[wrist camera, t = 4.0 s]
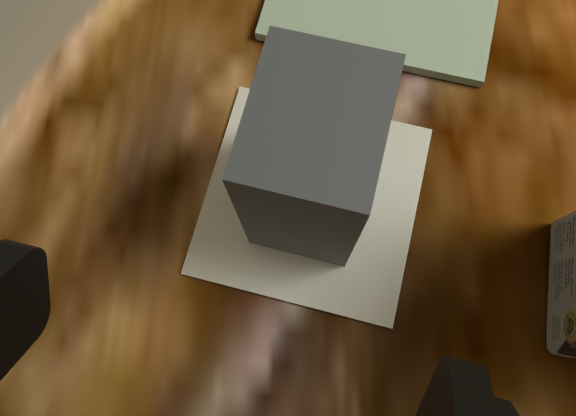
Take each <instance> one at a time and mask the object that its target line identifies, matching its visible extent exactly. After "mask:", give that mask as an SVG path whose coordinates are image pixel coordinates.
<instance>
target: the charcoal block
mask: <svg viewBox="0 0 576 416" xmlns="http://www.w3.org/2000/svg"><path fill="white" fill-rule="evenodd" d="M405 57H406V54H402V53H398V52H393V51H388V50H383V49H379V48H374V47H369V46H364V45H360V44H355V43H350V42H346V41H341V40H336V39H331V38H327V37H322V36H317V35H312V34H308V33H303V32H298V31H294V30H289V29H284V28H279V27H275V26H269V29H268V33H267V36H266V39H265V42H264V46H263V49H262V52H261V55H260V58H259V62H258V65H257V68H256V71H255V75H254V78H253V81H252V84H251V88H250V91H249V94H248V97H247V100H246V104H245V107H244V110H243V113H242V117H241V120H240V123H239V126H238V129H237V133H236V136H235V139H234V142H233V146H232V149H231V152H230V155H229V159H228V162H227V165H226V168H225V171H224V175H223V178H222V181H223V183H224V185H225V188H226V190H227V192H228V195H229V197H230V199H231V202H232V204H233V206H234V209H235V211H236V213H237V215H238V218H239V220H240V222H241V225H242V227H243V229H244V232H245V234H246V236H247V239H248V241H249V243H253V244H257V245H261V246H265V247H269V248H273V249H277V250H281V251H285V252H289V253H292V254H296V255H300V256H304V257H308V258H312V259H316V260H320V261H324V262H328V263H332V264H336V265H340V266H344V267H345V265H346V263H347V261H348V259H349V257H350V255H351V253H352V251H353V249H354V247H355V245H356V243H357V241H358V239H359V237H360V235H361V233H362V231H363V229H364V227H365V225H366V223H367V221H368V218H369V216H370V214H371V209H372V205H373V200H374V196H375V191H376V187H377V182H378V178H379V173H380V169H381V164H382V160H383V155H384V151H385V146H386V142H387V137H388V133H389V129H390V124H391V120H392V115H393V111H394V106H395V102H396V97H397V93H398V88H399V84H400V79H401V75H402V70H403V66H404V61H405Z"/></svg>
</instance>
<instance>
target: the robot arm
mask: <svg viewBox="0 0 576 416" xmlns="http://www.w3.org/2000/svg"><path fill="white" fill-rule="evenodd" d="M49 314H50V294H49V281H48V268H47V257H46V253H45V251H44V250H43V249H41V248H38V247H35V246H31V245H27V244H23V243H19V242H15V241H12V240H8V239H3V240H0V381H1V380H2V378H3V377H4V376H5V375H6V374H7V373H8V372H9V370H10V369H11V368H12V367H13V366H14V365H15V364H16V363H17V361H18V360H19V359H20V358H21V357H22V356H23V355H24V353H25V352H26V351H27V350H28V349H29V348H30V347H31V345H32V344H33V343H34V342H35V341H36V340H37V339H38V337H39V336H40V335H41V333H42V332H43V330H44V328H45V326H46V324H47V321H48V318H49ZM416 416H519V414H518V413H517V411H516V409H515V408H514V406H513V405H512V403H511V402H510V401H507V400H503V399H500V398H496V397H493V392H492V387H491V382H490V377H489V373H488V369H487V367H486V366H485V365H483V364H479V363H475V362H472V361H468V360H464V359H460V358H456V357H452V356H448V355H443V356H442V357H441V359H440V361H439V363H438V365H437V367H436V370H435V372H434V374H433V376H432V379H431V381H430V383H429V386H428V388H427V390H426V392H425V395H424V397H423V399H422V401H421V404H420V406H419V409H418V412H417V415H416Z"/></svg>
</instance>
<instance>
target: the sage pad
mask: <svg viewBox="0 0 576 416" xmlns="http://www.w3.org/2000/svg"><path fill="white" fill-rule="evenodd" d="M497 6H498V0H265V2H264V5H263V8H262V12H261V15H260V18H259V21H258V24H257V27H256V30H255V38H256V40H260V41H264V42H265V39H266V36H267V33H268V29H269V26H275V27H279V28H284V29H289V30H294V31H298V32H303V33H308V34H312V35H317V36H322V37H327V38H331V39H336V40H341V41H346V42H350V43H355V44H360V45H364V46H369V47H374V48H379V49H383V50H388V51H393V52H398V53H402V54H406V57H405V61H404V66H403V70H402V71H404V72H409V73H413V74H418V75H423V76H427V77H432V78H437V79H441V80H446V81H451V82H455V83H460V84H465V85H469V86H474V87H479V88H481V86H482V85H483V83H484V81H485V75H486V69H487V63H488V58H489V52H490V46H491V40H492V35H493V29H494V23H495V17H496V12H497Z"/></svg>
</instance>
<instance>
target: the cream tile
mask: <svg viewBox="0 0 576 416" xmlns="http://www.w3.org/2000/svg"><path fill="white" fill-rule="evenodd" d="M249 91H250V89H249V88H244V87H240V88H239V91H238V94H237V97H236V100H235V103H234V107H233V110H232V113H231V116H230V119H229V122H228V125H227V129H226V132H225V135H224V138H223V141H222V144H221V148H220V151H219V154H218V157H217V160H216V163H215V167H214V170H213V173H212V176H211V179H210V182H209V186H208V189H207V192H206V195H205V198H204V201H203V205H202V208H201V211H200V214H199V217H198V220H197V223H196V227H195V230H194V233H193V236H192V239H191V242H190V246H189V249H188V252H187V255H186V258H185V261H184V265H183V268H182V271H181V274H182V275H186V276H190V277H194V278H198V279H202V280H205V281H209V282H213V283H217V284H221V285H225V286H229V287H232V288H236V289H240V290H244V291H248V292H252V293H256V294H259V295H263V296H267V297H271V298H275V299H279V300H282V301H286V302H290V303H294V304H298V305H302V306H306V307H309V308H313V309H317V310H321V311H325V312H329V313H333V314H336V315H340V316H344V317H348V318H352V319H356V320H359V321H363V322H367V323H371V324H375V325H379V326H383V327H386V328H390V329H393V325H394V319H395V314H396V309H397V304H398V299H399V294H400V289H401V284H402V279H403V274H404V269H405V264H406V259H407V254H408V249H409V244H410V239H411V234H412V229H413V224H414V219H415V214H416V209H417V204H418V199H419V194H420V189H421V184H422V179H423V174H424V169H425V164H426V159H427V154H428V149H429V144H430V139H431V134H432V129H427V128H423V127H418V126H414V125H410V124H405V123H401V122H396V121H392V120H391V124H390V129H389V133H388V137H387V142H386V146H385V151H384V155H383V160H382V164H381V169H380V173H379V178H378V182H377V187H376V191H375V196H374V200H373V205H372V209H371V214H370V216H369V218H368V221H367V223H366V225H365V227H364V229H363V231H362V233H361V235H360V237H359V239H358V241H357V243H356V245H355V247H354V249H353V251H352V253H351V255H350V257H349V259H348V261H347V263H346V265H345V267H344V266H340V265H336V264H332V263H328V262H324V261H320V260H316V259H312V258H308V257H304V256H300V255H296V254H292V253H289V252H285V251H281V250H277V249H273V248H269V247H265V246H261V245H257V244H253V243H249V241H248V239H247V236H246V234H245V232H244V229H243V227H242V225H241V222H240V220H239V218H238V215H237V213H236V211H235V209H234V206H233V204H232V202H231V199H230V197H229V195H228V192H227V190H226V188H225V185H224V183H223V181H222V178H223V175H224V171H225V168H226V165H227V162H228V159H229V155H230V152H231V149H232V146H233V142H234V139H235V136H236V133H237V129H238V126H239V123H240V120H241V117H242V113H243V110H244V107H245V104H246V100H247V97H248V94H249Z"/></svg>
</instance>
